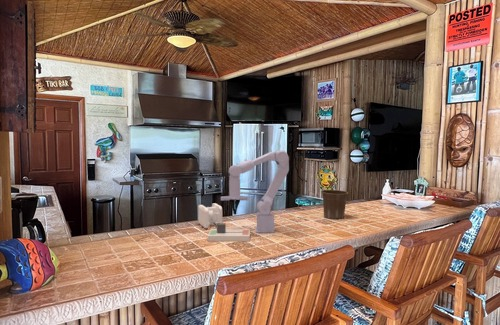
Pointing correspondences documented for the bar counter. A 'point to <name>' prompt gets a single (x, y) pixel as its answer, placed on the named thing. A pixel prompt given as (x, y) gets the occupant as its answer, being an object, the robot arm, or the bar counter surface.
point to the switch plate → (229, 235)
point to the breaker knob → (221, 227)
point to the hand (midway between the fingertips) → (234, 214)
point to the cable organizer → (209, 215)
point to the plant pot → (334, 203)
